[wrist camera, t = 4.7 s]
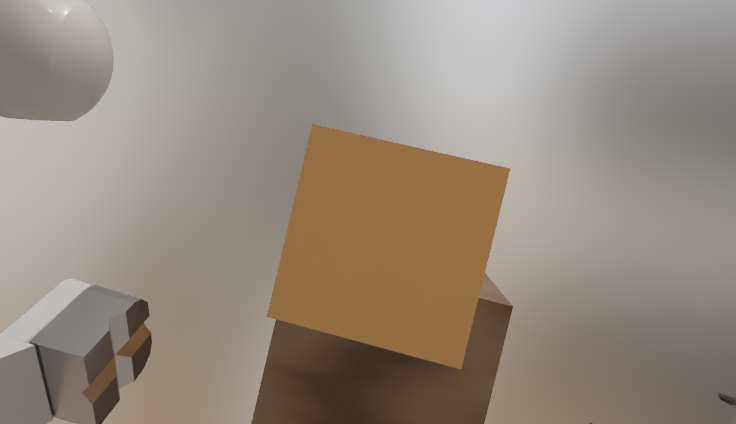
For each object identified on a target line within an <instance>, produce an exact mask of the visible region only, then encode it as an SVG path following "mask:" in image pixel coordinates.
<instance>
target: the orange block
mask: <svg viewBox="0 0 736 424" xmlns="http://www.w3.org/2000/svg"><path fill="white" fill-rule="evenodd" d="M509 171H510V169H509V168H504V167H500V166H495V165H491V164H487V163H482V162H478V161H473V160H469V159H464V158H459V157H455V156H451V155H446V154H442V153H437V152H433V151H428V150H424V149H420V148H415V147H411V146H406V145H402V144H397V143H393V142H389V141H384V140H380V139H375V138H370V137H366V136H362V135H357V134H353V133H348V132H344V131H340V130H335V129H330V128H326V127H322V126H317V125H312V127H311V132H310V136H309V140H308V144H307V148H306V153H305V157H304V161H303V165H302V170H301V174H300V178H299V183H298V187H297V191H296V196H295V200H294V204H293V208H292V212H291V217H290V221H289V225H288V230H287V234H286V238H285V242H284V246H283V251H282V255H281V259H280V263H279V268H278V272H277V276H276V280H275V285H274V289H273V293H272V297H271V302H270V306H269V310H268V314H267V317H270V318H273V319H277V320H281V321H284V322H288V323H292V324H295V325H299V326H303V327H307V328H310V329H314V330H318V331H321V332H325V333H329V334H332V335H336V336H340V337H343V338H347V339H351V340H354V341H358V342H362V343H365V344H369V345H373V346H377V347H380V348H384V349H388V350H391V351H395V352H399V353H402V354H406V355H410V356H413V357H417V358H421V359H424V360H428V361H432V362H436V363H439V364H443V365H447V366H450V367H454V368H458V369H461V368H462V364H463V360H464V356H465V352H466V347H467V343H468V339H469V335H470V331H471V327H472V323H473V319H474V315H475V311H476V307H477V302H478V298H479V294H480V290H481V286H482V282H483V278H484V274H485V269H486V266H487V261H488V257H489V253H490V249H491V245H492V241H493V237H494V233H495V228H496V225H497V221H498V216H499V212H500V208H501V204H502V200H503V196H504V192H505V188H506V184H507V179H508V175H509Z"/></svg>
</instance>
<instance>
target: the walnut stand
mask: <svg viewBox="0 0 736 424" xmlns="http://www.w3.org/2000/svg"><path fill="white" fill-rule="evenodd" d="M512 308H513V306H512V305H511V304H510V302H509V301H508V300H507V299H506V298H505V296H504V295H503V294H502V293H501V292H500V291H499V289H498V288H497V287H496V286H495V284H494V283H493V282H492V281H491V280H490V278H489V277H488V276H487V275H486V274H484V278H483V282H482V286H481V290H480V294H479V298H478V302H477V307H476V311H475V315H474V319H473V323H472V327H471V331H470V335H469V339H468V343H467V347H466V352H465V356H464V360H463V364H462V368H461V369H458V368H454V367H450V366H447V365H443V364H439V363H436V362H432V361H428V360H424V359H421V358H417V357H413V356H410V355H406V354H402V353H399V352H395V351H391V350H388V349H384V348H380V347H377V346H373V345H369V344H365V343H362V342H358V341H354V340H351V339H347V338H343V337H340V336H336V335H332V334H329V333H325V332H321V331H318V330H314V329H310V328H307V327H303V326H299V325H295V324H292V323H288V322H284V321H281V320H277V319H276V322H275V326H274V330H273V334H272V339H271V343H270V347H269V351H268V356H267V360H266V364H265V368H264V373H263V377H262V381H261V386H260V390H259V394H258V398H257V403H256V407H255V411H254V415H253V420H252V424H484V422H485V418H486V414H487V410H488V406H489V402H490V398H491V393H492V389H493V385H494V381H495V377H496V373H497V369H498V365H499V361H500V356H501V353H502V349H503V345H504V340H505V336H506V332H507V328H508V324H509V320H510V316H511V312H512Z"/></svg>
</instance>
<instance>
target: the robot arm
mask: <svg viewBox="0 0 736 424" xmlns="http://www.w3.org/2000/svg"><path fill="white" fill-rule="evenodd" d="M112 72H113V49H112V44H111V40H110V37H109V34H108V31H107V29H106V27H105V25H104V23H103V21H102V19H101V18H100V16H99V15H98V13H97V12H96V11H95V10H94V8H93V7H91V6H90V5H88V4H87V3H85V2H84V1H82V0H0V116H2V117H7V118H16V119H30V120H50V121H73V120H76V119H78V118H79V117H81V116H82V115H84V114H86V113H87V112H88V111H89V110H91V109H92V108H93V107H94V106H95V105H96V104H97V103H98V102H99V101H100V99H101V98H102V96H103V95H104V93H105V92H106V90H107V88H108V85H109V83H110V80H111V76H112ZM148 317H149V309H148V303H147V302H146V301H144V300H142V299H139V298H136V297H132V296H129V295H126V294H122V293H119V292H116V291H113V290H110V289H106V288H103V287H100V286H97V285H92V284H88V283H85V282H82V281H78V280H75V279H72V278H71V279H68V280H65V281H62V282H61V283H59V284H58V285H57V286H56V287H55V288H54V289H52V290H51V291H50V292H49V293H48V294H47V295H45V296H44V297H43V298H42V299H41V300H40V301H38V302H37V303H36V304H35V305H34V306H33V307H31V308H30V309H29V310H28V311H27V312H26V313H24V314H23V315H22V316H21V317H20V318H19V319H17V320H16V321H15V322H14V323H13V324H12V325H10V326H9V327H8V328H7V329H6V330H5V331H3V332H2V333H1V334H0V424H47V423H48V422H50V421H52V420H53V417H55V418H58V419H62V420H65V421H69V422H73V423H76V424H101V423H102V422H103V421H104V419H105V418H106V417H107V416H108V414H109V413H110V412H111V411H112V409H113V408H114V407H115V405H116V404H117V403H118V402H119V400H120V394H119V388H121V387H123V386H125V385H127V384H130V383H132V382H134V381H135V380H136V378H137V377H138V375H139V374H140V373H141V371H142V370H143V368H144V366H145V364H146V362H147V359H148V357H149V355H150V350H151V344H152V340H151V332H150V331H149V330H148V328H147V327H146V326H145V325H144V321H145V320H146V319H147V318H148ZM590 424H592V423H590Z"/></svg>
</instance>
